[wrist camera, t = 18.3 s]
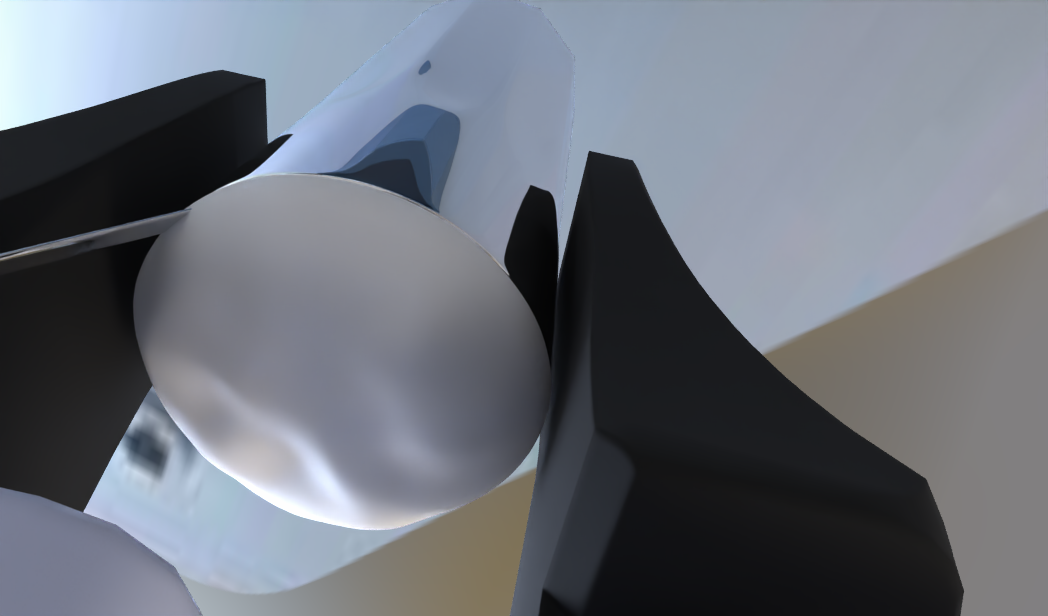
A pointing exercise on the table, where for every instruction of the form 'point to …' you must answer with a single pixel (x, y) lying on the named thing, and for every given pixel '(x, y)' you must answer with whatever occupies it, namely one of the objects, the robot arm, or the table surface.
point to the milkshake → (372, 278)
